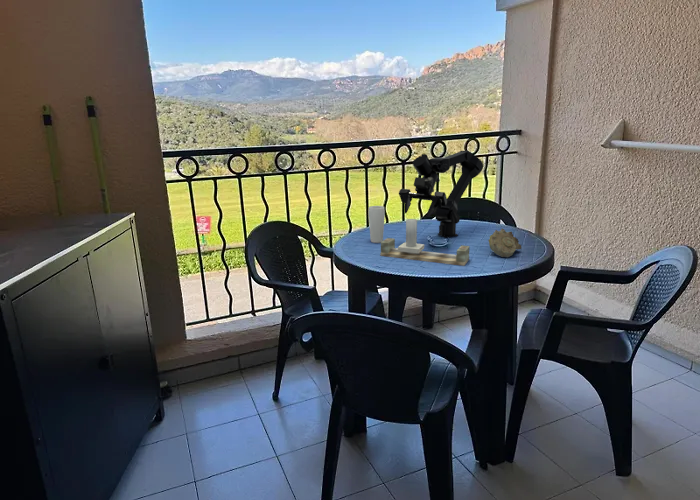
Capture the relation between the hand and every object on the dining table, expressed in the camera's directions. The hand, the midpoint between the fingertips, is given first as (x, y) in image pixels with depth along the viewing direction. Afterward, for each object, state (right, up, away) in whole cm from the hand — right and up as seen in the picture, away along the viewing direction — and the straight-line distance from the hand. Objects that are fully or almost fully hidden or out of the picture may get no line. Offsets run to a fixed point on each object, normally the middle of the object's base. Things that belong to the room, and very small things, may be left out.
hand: (416, 214), depth 170 cm
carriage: (-3, -14, -4) cm, 15 cm away
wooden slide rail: (+2, -17, -6) cm, 18 cm away
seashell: (+33, -16, -3) cm, 37 cm away
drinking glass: (-14, -11, +17) cm, 25 cm away
